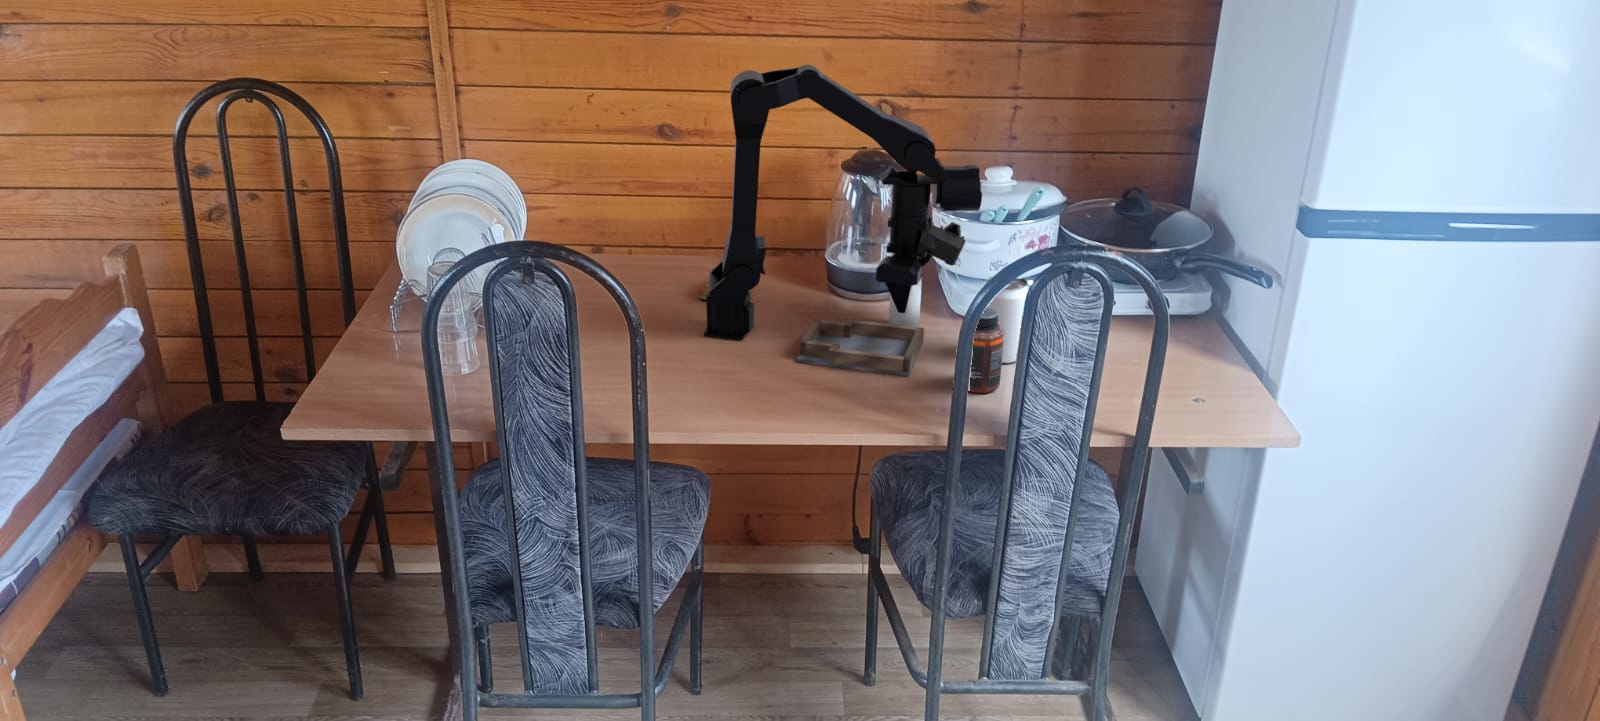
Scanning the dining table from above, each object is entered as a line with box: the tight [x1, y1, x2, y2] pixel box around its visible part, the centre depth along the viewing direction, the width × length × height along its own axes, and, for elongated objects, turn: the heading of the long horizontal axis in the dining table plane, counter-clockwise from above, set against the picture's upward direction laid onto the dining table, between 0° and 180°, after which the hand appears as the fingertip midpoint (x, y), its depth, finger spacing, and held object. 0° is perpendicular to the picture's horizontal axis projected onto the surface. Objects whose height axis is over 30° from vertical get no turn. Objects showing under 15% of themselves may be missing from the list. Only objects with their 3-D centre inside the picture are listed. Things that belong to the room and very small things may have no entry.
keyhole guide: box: [796, 318, 925, 377], centre depth 173 cm, size 17×12×3 cm
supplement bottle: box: [969, 308, 1004, 394], centre depth 161 cm, size 6×6×11 cm
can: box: [987, 275, 1029, 365], centre depth 170 cm, size 6×6×12 cm
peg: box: [888, 277, 923, 328], centre depth 180 cm, size 5×5×8 cm
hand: (904, 306), depth 180 cm, fingers closed on peg, 5 cm apart
